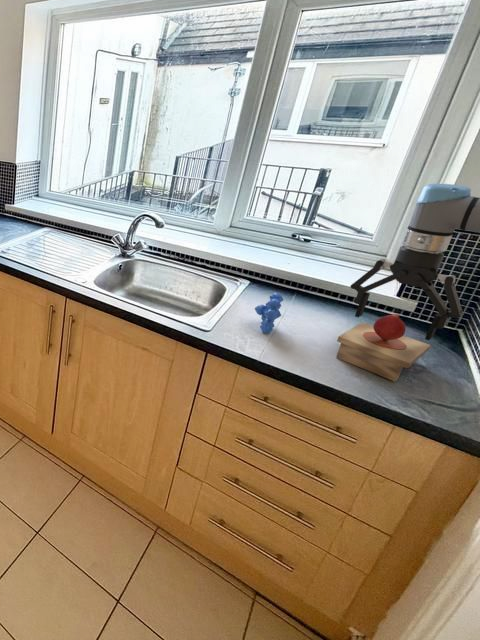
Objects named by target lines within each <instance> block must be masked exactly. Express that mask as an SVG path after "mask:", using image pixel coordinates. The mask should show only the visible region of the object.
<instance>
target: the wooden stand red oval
mask: <svg viewBox="0 0 480 640" xmlns="http://www.w3.org/2000/svg"><path fill="white" fill-rule="evenodd" d="M373 327H374V324H373V325H372V324H369V323H366V322H365V321H361V322H360V323H358V324H356V325H355V326H353V327H352V328H350V329H349V330H347V331H345V332H344V333H342V334H340V335H339V336H338V337H337V340H336V342H338V343H340V346H339V347H338V351H337V353H336V355H335V358H337V359H339V360H340V361H343V362H345V363H348V364H351V365H353V366H355V367H358V368H361V369H363V370H366V371H368V372H370V373H373V374H375V375H378V376H380V377H382V378H385V379H388V380H390V381H391V382H396V381H398V380H399V378H400V376H401V373H402V371H403V370H404V369H403V368H405V369H408V368H410V367H411V366H414V365H416V364H417V363H418V361H419V359H420V358H421V357H422V356H424V355H425V354H426V353H427V352H429V350H430V348H431V347H432V345H431V344H428V343H425V342H422V341H419V340H417V339H415V338H410V337H408V336H405V335H403V336H402V337H400V338H398V339H394V340H388V341H385V340H383V339H381V338H380V337H379V336H378V335H377V334H376V332H375V331H374V328H373Z"/></svg>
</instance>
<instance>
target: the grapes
mask: <svg viewBox="0 0 480 640" xmlns="http://www.w3.org/2000/svg"><path fill="white" fill-rule="evenodd" d="M283 301H284V298H283V295H282V294H281V293H280V292H273V294H270V295H269V301H267V302H266V303H265V305H264V304H259V305H257V306H256V307H254V310H255V313H256V314H257V315H258V316H261V317H260V319H261V322H260V324H261V325H259V327H260V331H261V332H262V333H263V334H270V333H271V332H273V331H274V328H275V320H277V319H279V318H280V317H282V313H281V312H280V309H281V308H282V302H283Z"/></svg>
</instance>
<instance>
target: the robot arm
mask: <svg viewBox="0 0 480 640" xmlns="http://www.w3.org/2000/svg"><path fill="white" fill-rule="evenodd" d="M471 191H472V189H471V188H470V187H469V186H465V185H458V184H451V183H429V184H427V185H425V186H424V187H423V189H422V190H421V192H420V195H419V197H418V199H417V201H416V202H415V205H414V208H413V212H412V215H411V217H410V220H409V222H408V226H407V228H406V231H405V234H404V236H403V239H402V241H401V244H402V245H401V246H400V247H399V249H398V252H397V254H396V257H395V260H394V261H393V262H390V261H387V260H386V259H385V258H381V259H378V260H376V262H375V263H374V265H373V267H372V268H371V269H369V270H368V271H367V272H366V273H364V274H363V275H362V276H361V277H359V278H358V279H357V280H355V281H354V282H353V283H352V284H351V285H350V286H349V287H350V289H353V290H355V291H356V292H357V294H356V296H355V300H354V303H355V304H356V305H358V306H357V308H356V311H355V315H354V317H356V318H360V317H362V316H363V314H364V312H365V309H366V306H367V304H368V300H369V298H370V295H371V293H370V292H369V291H372V290H374V289H376V288H379V287H381V286H383V285H386V284H388V283H391V282H393V281H397V282H398V283H399V284H403V285H408V286H411V287H414V288H416V287H417V288H419V287H420V288H421V290H422V291H423V292H424V293H425V295H426V296H427V298H428V299H429V301H430V302H431V303H432V305H433V307H434V308H435V309H436V311H437V313H436V314H434V317H433V319H432V322H431V324H430V326H429V328H428V331H427V333H426V335H425V337H424V340H427V341H431V340H432V339H433V337H434V335H435V333H436V331H437V329H439V330H442V329H443V328H445V326H446V324H447V322H448V320H449V318H455V319H459V318H461V317H462V316H463V315H464V312H463V308H462V305H461V302H460V299H459V295H458V291H457V288H456V285H455V284H456V280H457V276H456V275H455V274H450V275H448V274H440V273H439V269H440V266H441V264H442V261H443V259H444V257H445V254H444V253H445V252H447V250H448V247H449V245H450V242H451V240H452V238H453V235H454V233H455V230H460V231H466V232H473V233H478V234H480V197H476V196H472V194H471ZM387 268H389V270H390V271H391V273H392V274H391V275H388V276H386V277H383V278H381V279H379V280H377V281H374V282H372V283H370V284H368V285H366V286H362V285H363V284H364V283H366V282H367V281H368V280H369V279H371V278H372V277H374V276H375V275H376V274H377V273H379V272H380V271H381V270H385V269H387ZM436 280H439V281H440V283H441V284H442V285H443V288H444V292H445V295H446V299H447V302H448V306H449V307H448V306H447V304H446V303H445V301H444V300H443V298H442V297H441V295H440V294H439V292H438V291H437V290H436V289H437V288H436V287H435V285H434V283H433V281H436Z"/></svg>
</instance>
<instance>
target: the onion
mask: <svg viewBox="0 0 480 640" xmlns="http://www.w3.org/2000/svg"><path fill="white" fill-rule="evenodd" d="M405 324H406V323H404V321H403V320H402V319H401V318H400V314H399V313H394V314H393V313H392V314H387V315H383V316H380V317H379V318H377V319H376V320H375V321H374V323H373V326H374V327H373V328H374V331H375V332H376V334H377V335H378V336H379V337H380V338H381V339H383V340H385V341H388V340H394V339H398V338H400V337H402V336H405V334H406V329H407V327H406V325H405Z"/></svg>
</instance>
